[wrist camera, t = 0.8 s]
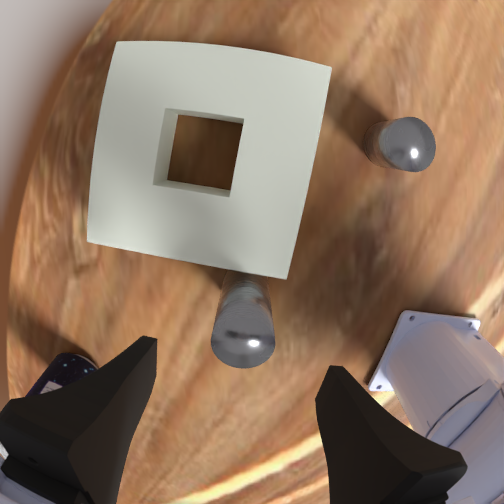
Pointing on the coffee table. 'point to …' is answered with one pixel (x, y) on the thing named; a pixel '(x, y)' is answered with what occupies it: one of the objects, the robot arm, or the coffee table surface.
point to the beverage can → (60, 376)
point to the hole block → (247, 163)
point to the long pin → (243, 321)
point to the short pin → (400, 144)
